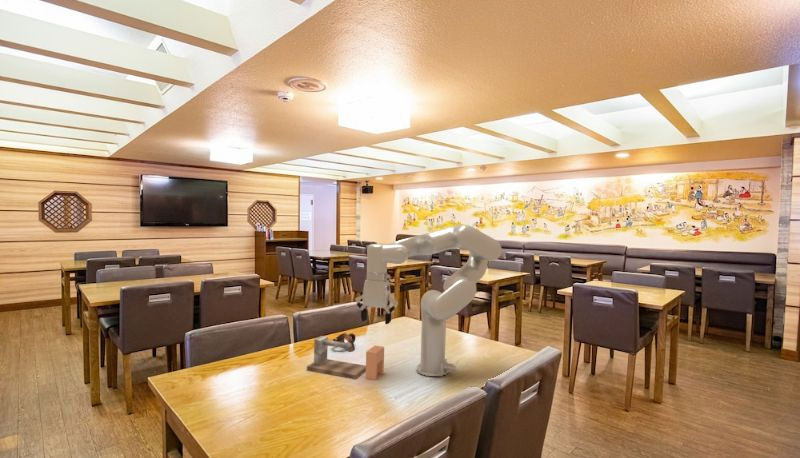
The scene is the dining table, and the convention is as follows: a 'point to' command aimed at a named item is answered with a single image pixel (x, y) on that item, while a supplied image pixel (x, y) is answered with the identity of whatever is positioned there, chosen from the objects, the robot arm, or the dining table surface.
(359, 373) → the hook stand
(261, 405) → the dining table surface
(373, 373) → the saddle clip
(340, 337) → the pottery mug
